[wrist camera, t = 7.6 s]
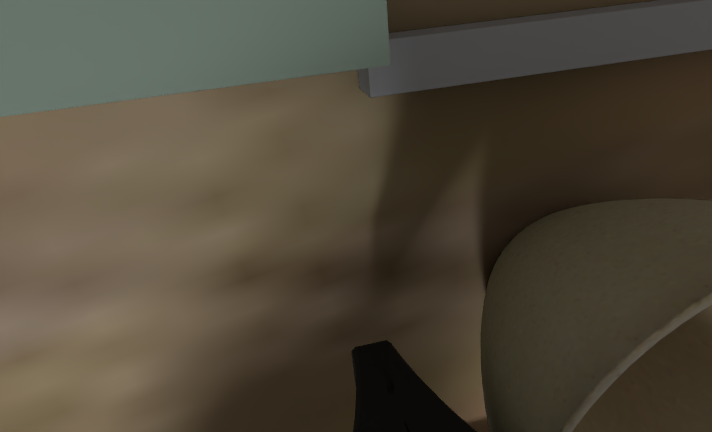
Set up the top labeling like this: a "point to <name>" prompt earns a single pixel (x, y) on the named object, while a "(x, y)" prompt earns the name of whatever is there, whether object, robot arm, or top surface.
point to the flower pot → (602, 321)
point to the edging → (539, 45)
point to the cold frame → (176, 46)
